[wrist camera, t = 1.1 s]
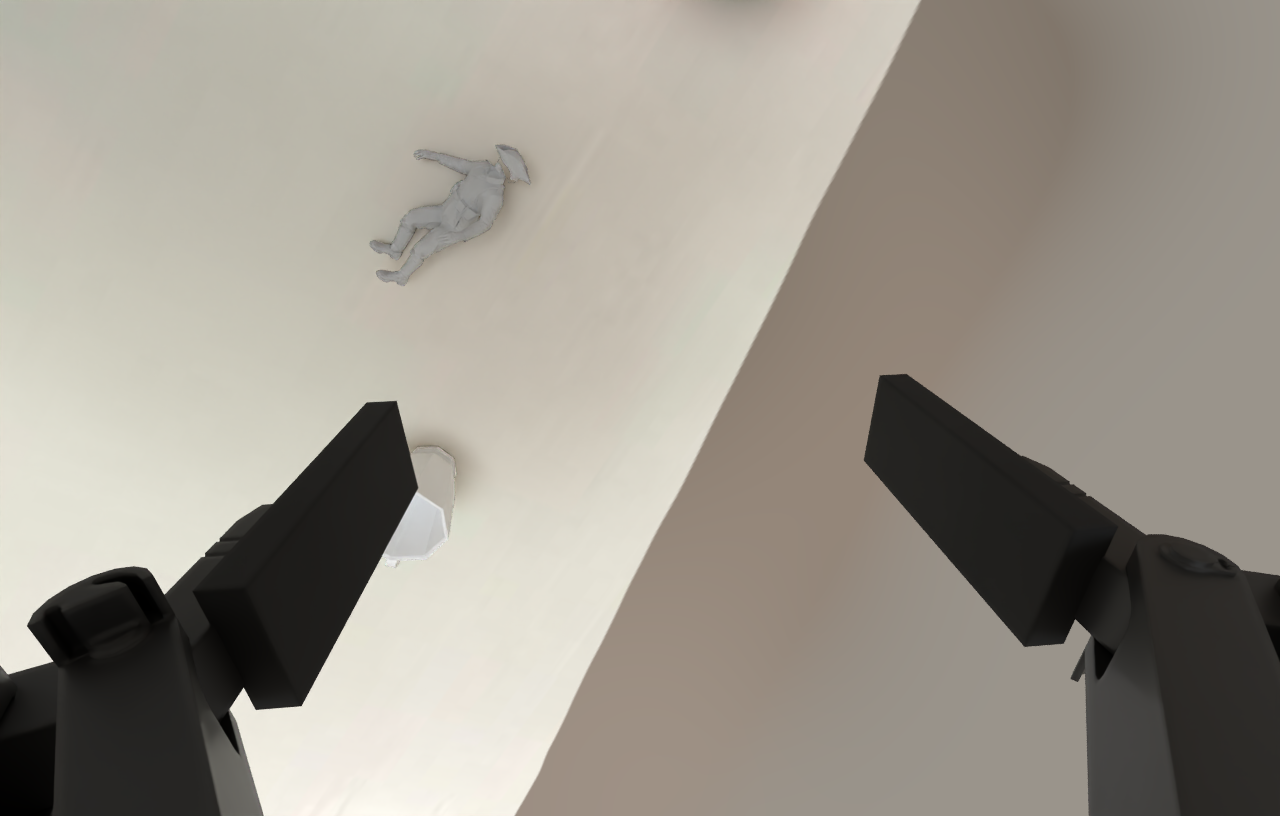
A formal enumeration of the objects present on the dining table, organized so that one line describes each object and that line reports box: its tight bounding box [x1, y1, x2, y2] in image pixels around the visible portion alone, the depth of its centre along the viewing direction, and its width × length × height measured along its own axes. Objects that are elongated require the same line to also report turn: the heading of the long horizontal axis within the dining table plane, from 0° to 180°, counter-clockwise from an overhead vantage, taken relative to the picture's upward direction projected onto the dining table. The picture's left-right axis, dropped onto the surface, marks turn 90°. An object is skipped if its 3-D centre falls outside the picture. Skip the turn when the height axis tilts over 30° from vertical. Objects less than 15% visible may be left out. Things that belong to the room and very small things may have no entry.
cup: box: [382, 446, 457, 568], centre depth 42 cm, size 7×10×8 cm
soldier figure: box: [370, 145, 531, 286], centre depth 35 cm, size 8×5×12 cm
